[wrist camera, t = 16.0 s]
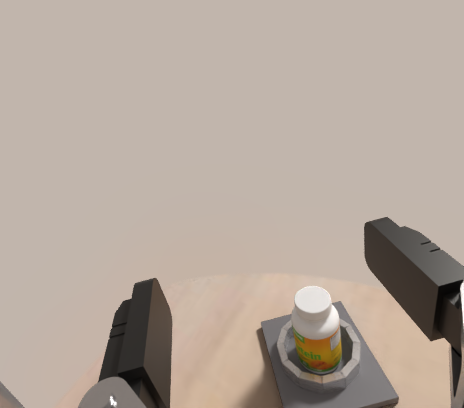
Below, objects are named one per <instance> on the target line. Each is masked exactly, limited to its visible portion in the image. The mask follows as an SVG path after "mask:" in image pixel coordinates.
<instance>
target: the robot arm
mask: <svg viewBox="0 0 464 408" xmlns="http://www.w3.org/2000/svg"><path fill="white" fill-rule="evenodd" d="M364 237H365V238H364V242H365V243H364V245H365V259H366V262H367V265H368V267H369V269H370V270H371V271H372V273H373V274H374V275H375V276H376V277H377V278H378V280H379V281H380V282H381V283H382V284H383V286H384V287H385V288H386V289H387V290H388V292H389V293H390V294H391V295H392V296H393V297H394V299H395V300H396V301H397V302H398V303H399V304H400V306H401V307H402V308H403V309H404V310H405V312H406V313H407V314H408V315H409V316H410V317H411V319H412V320H413V321H414V322H415V323H416V325H417V326H418V327H419V328H420V329H421V330H422V332H423V333H424V334H425V335H426V336H427V337H428V339H429V340H430V341H434V340H437V339H441V338H445V339H446V340H447V341H448V342H449V343H450V346H449V367H450V391H451V408H464V266H462V265H461V264H460V263H459V262H457V261H456V260H455V259H454V258H452V257H451V256H450V255H448V254H447V253H446V252H445V251H443V250H440V248H439V247H438V246H437V245H436V244H434V243H431V241H430V240H429V239H428V238H426V237H425V236H424V235H422V234H421V233H420V232H418V231H415V230H413V229H410V228H408V227H405V226H404V227H399V226H398V225H397V224H396V223H394V222H393V221H392V220H390V219H389V218H388V217H385V218H381V219H377V220H373V221H369V222H366V223H365V227H364ZM109 337H110V339H109V340H108V344H107V348H106V352H105V356H104V360H103V364H102V369H101V373H100V377H99V381H98V383H97V384H95V385H94V386H93V387H92V388H91V389H90V390H89V391H88V392H87V393H86V394H85V396H84V397H83V398H82V400H81V402H80V404H79V406H78V408H170V385H171V351H172V316H171V311H170V308H169V305H168V303H167V301H166V298H165V296H164V294H163V291H162V289H161V287H160V284H159V282H158V280H157V279H156V278H153V279H149V280H145V281H142V282H138V283H135V285H134V288H133V293H132V299H129V300H125V301H123V302H122V304H121V305H120V307H119V308H118V310H117V311H116V313H115V316H114V320H113V324H112V329H111V332H110V336H109ZM0 408H24V407H23V405H22V404H21V403H20V402H19V401H18V400H17V399H16V398H15V397H14V396H13V395H12V394H11V393H10V392H9V390H8V389H7V388H6V387H5V386H4V385H3V384H2V383H1V382H0Z"/></svg>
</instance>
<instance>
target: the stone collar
mask: <svg viewBox="0 0 464 408" xmlns="http://www.w3.org/2000/svg"><path fill="white" fill-rule="evenodd" d="M339 321H340V335H341V336H343V337H344V338H346V340H347V342H348V343H349V345H350V347H351V349H352V359H351V360H350V361H349V362H348V363H347V364H346V365H345V367H344V368H343V369H342V370H341V371H339V372H335V373H332V374H328V375H324V376H319V375H314V374H310V373H306V372H302V371H301V370H300V369H299V368H298V367H296V366H295V365H294V364H293V363H292V362H291V361H290V360H288V357H287V354H286V351H287V347H288V343H289V340H290V339H291V338H292V337H293V336H294V333H293V328H292V322H291V320H290V321H289V322H288V323H287V324H285V325H284V326H283V327H282V329H281V332H280V335H279V339H278V342H277V348H278V352H279V356H280V359H281V363H282V366H283V369H284V373H285V374H286V375H287V376H288V377H289V378H290V379H291V380H293V381H294V382H295V383H296V384H297V385H298V386H299V387H300V388H302V389H306V390H309V391H313V392H317V393H321V394H327V393H331V392H334V391H338V390H342V389H345V388H347V387H348V386H349V384H350V383H351V382H352V381H353V380H354V379H355V377H356V376H357V375H358V374H359V373H360V359H361V343H360V340H359V339H358V337H357V335H356V334H355V332H354V330H353V328H352V327H351V325H350V324H348V323H347V322H345V321H343V320H342V319H340V318H339Z"/></svg>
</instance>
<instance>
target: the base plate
mask: <svg viewBox="0 0 464 408" xmlns="http://www.w3.org/2000/svg"><path fill="white" fill-rule="evenodd" d="M332 305H333V306H334V307H335V308H336V310H337V312H338V315H339V318H340V319H342V320H343V321H345V322H347V323H348V324H350V325H351V327H352V328H353V330H354V332H355V334H356V335H357V337H358V339H359V340H360V343H361V359H360V373H359V374H358V375H357V376H356V377H355V379H354V380H353V381H352V382H351V383H350V384H349V386H348V387H347V388H345V389H342V390H338V391H334V392H331V393H327V394H321V393H317V392H313V391H309V390H306V389H302V388H300V387H299V386H298V385H297V384H296V383H295V382H294V381H293V380H291V379H290V378H289V377H288V376H287V375H286V374H285V373H284V369H283V366H282V363H281V359H280V356H279V352H278V348H277V342H278V339H279V335H280V332H281V329H282V327H283V326H284V325H285V324H287V323H288V322H289V321H290V320H291V314H290V315H286V316H282V317H278V318H274V319H271V320H267V321H263V322H261V326H262V329H263V333H264V337H265V341H266V344H267V348H268V352H269V355H270V359H271V363H272V367H273V370H274V374H275V378H276V381H277V385H278V389H279V393H280V396H281V400H282V404H283V407H284V408H379V407H383V406H387V405H391V404H394V403H398V400H399V397H398V395H397V393H396V392H395V390H394V388H393V387H392V385H391V383H390V382H389V380H388V379H387V377H386V375H385V374H384V372H383V370H382V369H381V367H380V365H379V364H378V362H377V360H376V359H375V357H374V355H373V354H372V352H371V351H370V349H369V347H368V346H367V344H366V342H365V341H364V339H363V337H362V336H361V334H360V332H359V331H358V329H357V327H356V326H355V324H354V323H353V321H352V319H351V318H350V316H349V314H348V313H347V311H346V309H345V308H344V306H343V304H342V303H341V301H339V302H335V303H332ZM341 348H342V359H341V362H340V364H339V366H338V367H337V368H336V369H335V370H334V371H332V372H330V373H326V374H317V373H313V372H311V371H309V370H307V369H306V368H305V367H304V366H303V365H302V364H301V363H300V361H299V359H298V355H297V350H296V344H295V339H294V336H293V337H292V338H291V339H290V340H289V343H288V347H287V351H286V354H287V357H288V360H290V361H291V362H292V363H293V364H294V365H295V366H296V367H298V368H299V369H300V370H301V371H302V372H306V373H310V374H314V375H319V376H324V375H328V374H332V373H335V372H339V371H341V370H342V369H343V368H344V367H345V365H346V364H347V363H348V362H349V361H350V360H351V359H352V349H351V347H350V345H349V343H348V342H347V340H346V338H344V337H343V336H341Z"/></svg>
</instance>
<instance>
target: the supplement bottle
mask: <svg viewBox="0 0 464 408" xmlns="http://www.w3.org/2000/svg"><path fill="white" fill-rule="evenodd" d="M294 303H295V307H294V308H293V310H292V314H291V322H292V328H293V333H294V339H295V344H296V350H297V355H298V359H299V361H300V363H301V364H302V365H303V366H304V367H305V368H306V369H307V370H309V371H311V372H313V373H317V374H326V373H330V372H332V371H334V370H335V369H336V368H337V367H338V366H339V364H340V362H341V359H342V348H341V335H340V321H339V315H338V312H337V310H336V308H335V307H334V306H333V305H332V303H331V297H330V295H329V293H328V292H327V291H326V290H325V289H323V288H321V287H317V286H307V287H304V288H302V289H300V290H299V291H298V292H297V293H296V294H295V297H294Z"/></svg>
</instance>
